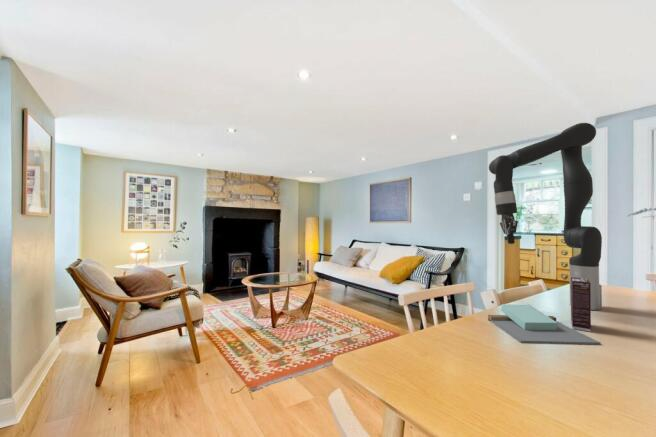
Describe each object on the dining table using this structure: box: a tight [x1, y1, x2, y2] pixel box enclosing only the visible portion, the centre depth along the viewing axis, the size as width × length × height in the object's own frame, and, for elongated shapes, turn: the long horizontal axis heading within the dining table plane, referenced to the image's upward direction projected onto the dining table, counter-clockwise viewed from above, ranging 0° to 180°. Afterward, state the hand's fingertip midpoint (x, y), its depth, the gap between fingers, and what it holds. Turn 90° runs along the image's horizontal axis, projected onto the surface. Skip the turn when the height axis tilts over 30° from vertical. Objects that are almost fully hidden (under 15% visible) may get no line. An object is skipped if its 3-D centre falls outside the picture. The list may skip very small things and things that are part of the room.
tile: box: [500, 303, 558, 330], centre depth 100 cm, size 2×10×14 cm
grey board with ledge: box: [487, 314, 602, 346], centre depth 94 cm, size 20×22×2 cm
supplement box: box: [570, 277, 592, 333], centre depth 98 cm, size 9×5×16 cm, turn 143°
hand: (511, 243), depth 123 cm, fingers closed
